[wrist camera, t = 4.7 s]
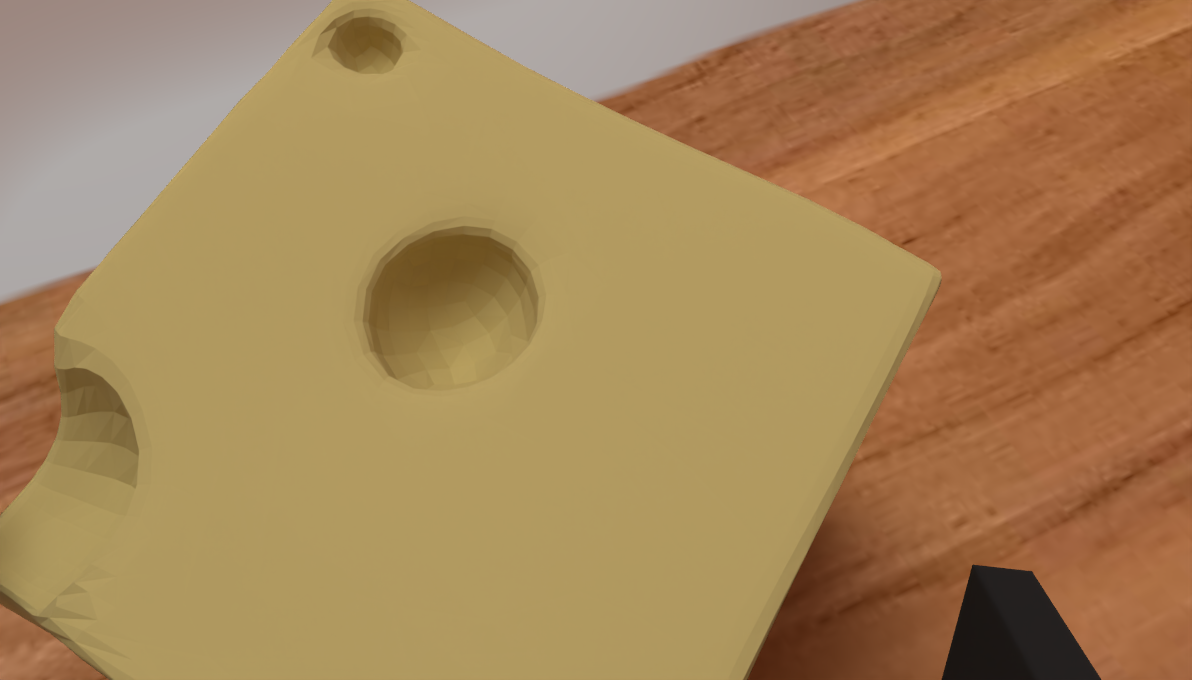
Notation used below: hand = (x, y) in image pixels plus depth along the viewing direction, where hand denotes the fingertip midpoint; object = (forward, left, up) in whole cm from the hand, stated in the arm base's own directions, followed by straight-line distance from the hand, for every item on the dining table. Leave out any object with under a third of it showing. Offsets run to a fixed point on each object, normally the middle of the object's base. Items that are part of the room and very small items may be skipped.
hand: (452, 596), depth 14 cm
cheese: (-2, +1, -8) cm, 9 cm away
